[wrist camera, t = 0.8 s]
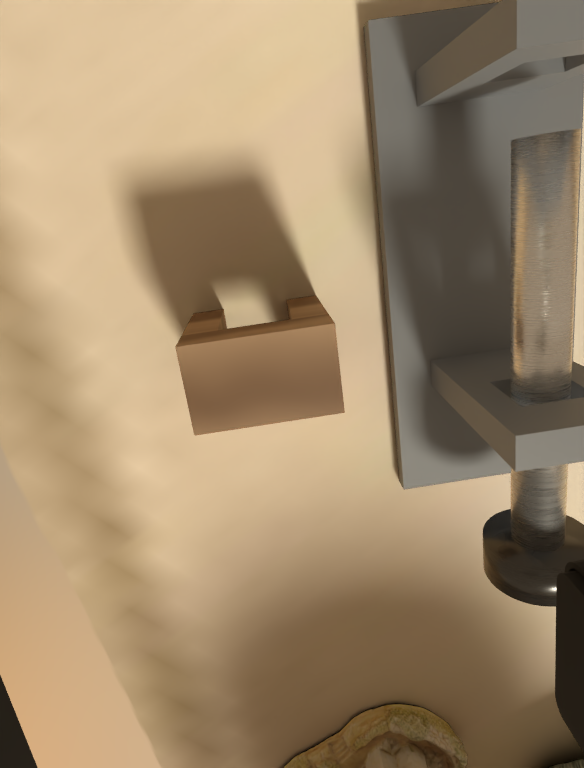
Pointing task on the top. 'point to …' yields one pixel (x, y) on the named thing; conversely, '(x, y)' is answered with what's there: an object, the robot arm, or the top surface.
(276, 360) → the block
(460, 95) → the grey bearing stand
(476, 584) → the top surface
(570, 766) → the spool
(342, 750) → the ceramic model
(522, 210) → the shaft
